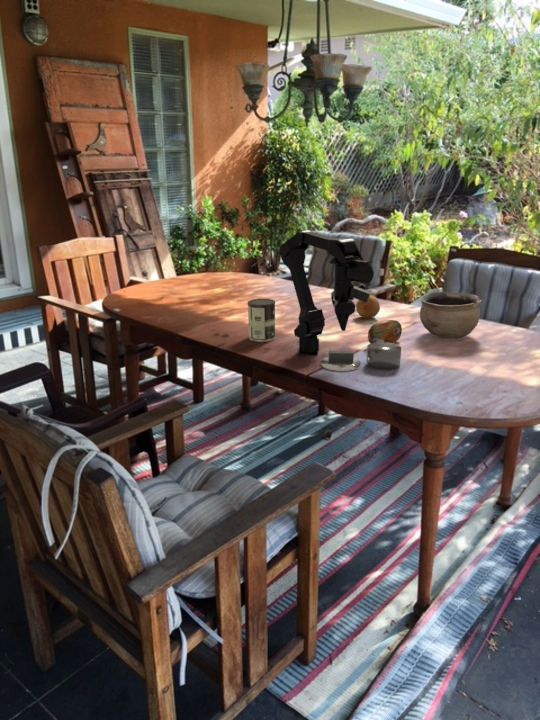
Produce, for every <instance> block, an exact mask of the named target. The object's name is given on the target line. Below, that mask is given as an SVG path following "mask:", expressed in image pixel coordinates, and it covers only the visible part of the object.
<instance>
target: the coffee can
mask: <svg viewBox="0 0 540 720" xmlns="http://www.w3.org/2000/svg"><path fill="white" fill-rule="evenodd" d="M247 307H248V309H247V314H248V339H249V340H250V341H252V342H257V343H259V342H260V343H263V342H264V343H265V342H270V341H274V340H276V300H274V299H271V298H255V299H250V300H248V301H247Z"/></svg>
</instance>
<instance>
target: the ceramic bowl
mask: <svg viewBox="0 0 540 720" xmlns="http://www.w3.org/2000/svg"><path fill="white" fill-rule="evenodd" d="M419 299H420V302H421V304H422V305H421V307H420V310H419V319H420V321H421V324H422V325H423V327H424V329H426V330H427V331H428V332H429V334H431V335H432V336H434V337H436V338H440V339H444V340H445V339H446V340H458V339H463V338H465V337H466V336H468V335H469V334H471V333H472V332H473V330H475V328H476V327H477V326H478V324H479V321H480V318H481V317H480V316H481V309H480V305H481V303H482V300H481V299H480V297H479V296H478V295H476V294H472V293H461V292H460V293H459V292H450V291H449V292H447V291H439V292H431V293H427V294H425V295H422V296H420V298H419Z"/></svg>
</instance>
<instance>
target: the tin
mask: <svg viewBox="0 0 540 720" xmlns="http://www.w3.org/2000/svg"><path fill="white" fill-rule="evenodd" d="M402 329H403V328H402V324H401V322H400V321H398V320H395V319H389V320H388V319H387V320H385V321H380V322H376V323H373V324H372V325H371V326H370V328H369V329H368V332H367V333H368V334H367V341H368V342H369V344H371V343H375V342H376V340H384V342H388V343H393V342H395V343H397V341H399V340H400V337H401V335H402V331H403V330H402Z"/></svg>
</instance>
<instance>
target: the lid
mask: <svg viewBox="0 0 540 720" xmlns="http://www.w3.org/2000/svg"><path fill="white" fill-rule="evenodd" d="M361 364H362V363H361V360H360V359H358V358H356V357H354V350H328V356H327V357H324V358H323V359H321V361H320V366H321V367H322V368H323V369H325V370H329V371H332V370H333V372H334V371H335V372H351V371H350V370H352V371H355V369H356V370H358V369H360V367H361Z"/></svg>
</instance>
